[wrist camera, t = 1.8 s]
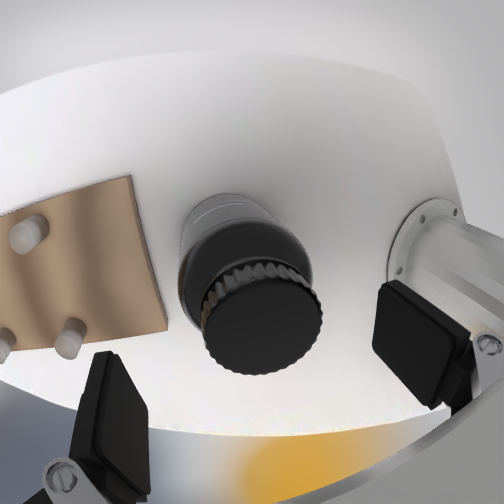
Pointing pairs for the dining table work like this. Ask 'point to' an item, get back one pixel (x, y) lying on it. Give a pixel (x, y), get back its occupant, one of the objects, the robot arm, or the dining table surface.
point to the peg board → (76, 272)
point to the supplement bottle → (247, 286)
